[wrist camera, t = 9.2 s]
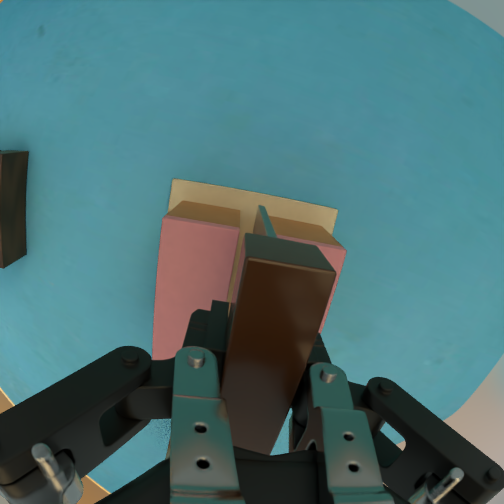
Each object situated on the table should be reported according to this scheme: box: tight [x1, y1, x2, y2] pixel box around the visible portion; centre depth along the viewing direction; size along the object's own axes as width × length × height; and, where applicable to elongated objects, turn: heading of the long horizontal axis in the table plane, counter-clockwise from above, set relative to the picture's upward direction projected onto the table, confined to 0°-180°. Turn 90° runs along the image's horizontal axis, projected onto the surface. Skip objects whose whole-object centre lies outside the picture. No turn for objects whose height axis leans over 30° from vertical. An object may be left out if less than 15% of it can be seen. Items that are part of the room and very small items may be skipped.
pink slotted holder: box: [152, 178, 347, 360], centre depth 23 cm, size 14×13×7 cm
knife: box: [219, 205, 337, 455], centre depth 14 cm, size 9×2×11 cm, turn 169°
